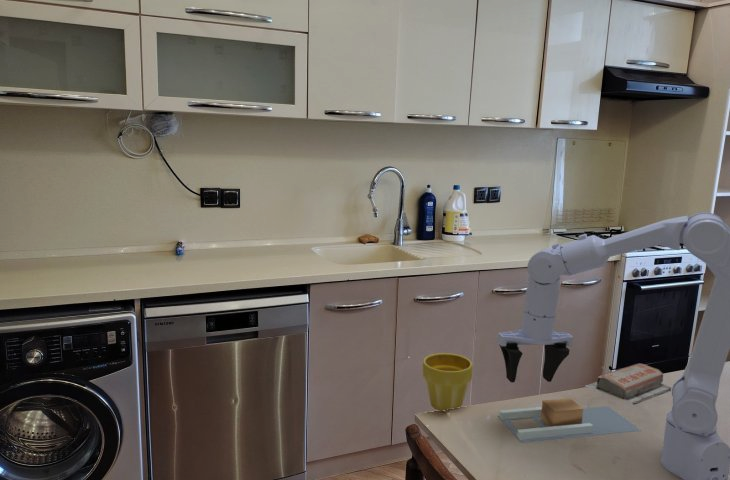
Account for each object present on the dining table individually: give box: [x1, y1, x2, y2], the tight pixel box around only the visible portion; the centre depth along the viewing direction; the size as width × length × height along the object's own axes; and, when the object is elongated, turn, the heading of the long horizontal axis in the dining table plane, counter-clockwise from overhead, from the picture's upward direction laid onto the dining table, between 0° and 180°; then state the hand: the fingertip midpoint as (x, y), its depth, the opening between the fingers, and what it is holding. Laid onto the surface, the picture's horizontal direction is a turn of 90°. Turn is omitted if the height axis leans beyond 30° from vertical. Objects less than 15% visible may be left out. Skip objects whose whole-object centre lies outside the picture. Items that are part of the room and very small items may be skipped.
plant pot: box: [422, 352, 474, 413], centre depth 113 cm, size 10×10×10 cm
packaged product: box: [584, 363, 672, 405], centre depth 123 cm, size 18×5×10 cm
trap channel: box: [497, 405, 642, 443], centre depth 106 cm, size 10×25×2 cm, turn 102°
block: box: [541, 397, 584, 427], centre depth 105 cm, size 4×6×4 cm
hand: (528, 379), depth 103 cm, fingers open, 7 cm apart
